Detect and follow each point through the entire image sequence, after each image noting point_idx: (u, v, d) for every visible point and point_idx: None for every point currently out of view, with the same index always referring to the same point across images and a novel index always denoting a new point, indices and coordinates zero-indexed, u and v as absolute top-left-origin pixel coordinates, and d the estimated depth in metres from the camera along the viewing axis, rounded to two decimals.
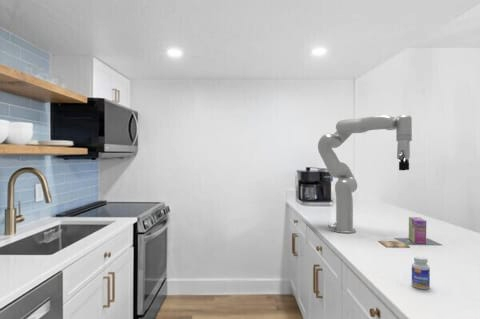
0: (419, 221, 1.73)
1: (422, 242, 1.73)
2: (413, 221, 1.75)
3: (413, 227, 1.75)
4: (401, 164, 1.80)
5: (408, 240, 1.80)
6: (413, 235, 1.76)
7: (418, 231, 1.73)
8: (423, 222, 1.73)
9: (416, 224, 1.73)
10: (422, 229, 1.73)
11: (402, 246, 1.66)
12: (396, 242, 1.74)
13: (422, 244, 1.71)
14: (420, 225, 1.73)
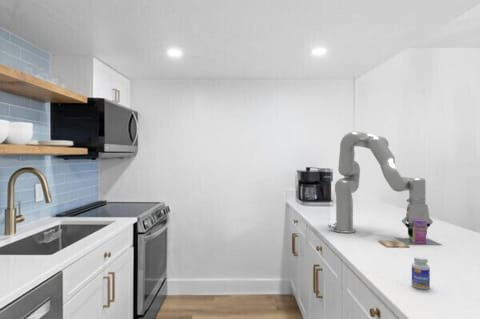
0: (419, 221, 1.73)
1: (422, 242, 1.73)
2: None
3: (413, 227, 1.75)
4: None
5: (408, 240, 1.80)
6: (413, 235, 1.76)
7: (418, 231, 1.73)
8: (423, 222, 1.73)
9: (416, 224, 1.73)
10: (422, 229, 1.73)
11: (402, 246, 1.66)
12: (396, 242, 1.74)
13: (422, 244, 1.71)
14: (420, 225, 1.73)
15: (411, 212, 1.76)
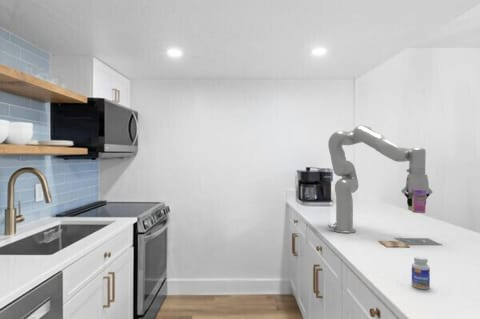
0: (419, 190, 1.73)
1: (421, 212, 1.73)
2: (413, 191, 1.75)
3: (412, 197, 1.75)
4: None
5: (408, 240, 1.80)
6: (412, 205, 1.76)
7: (417, 200, 1.73)
8: (423, 191, 1.73)
9: (415, 193, 1.73)
10: (422, 198, 1.73)
11: (402, 246, 1.66)
12: (396, 242, 1.74)
13: (422, 244, 1.71)
14: (419, 194, 1.73)
15: (410, 181, 1.76)
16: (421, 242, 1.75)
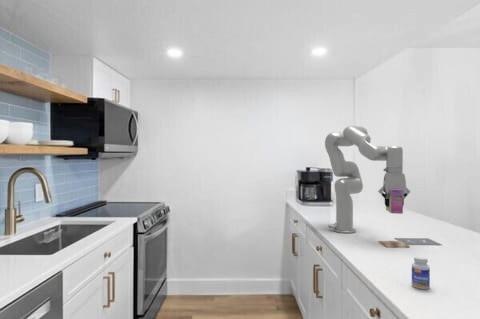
0: (396, 190, 1.67)
1: (398, 212, 1.67)
2: (390, 191, 1.69)
3: (390, 197, 1.69)
4: None
5: (408, 240, 1.80)
6: (389, 205, 1.69)
7: (395, 201, 1.67)
8: (400, 191, 1.66)
9: (393, 193, 1.67)
10: (399, 198, 1.67)
11: (402, 246, 1.66)
12: (396, 242, 1.74)
13: (422, 244, 1.71)
14: (397, 194, 1.67)
15: (387, 181, 1.69)
16: (421, 242, 1.75)
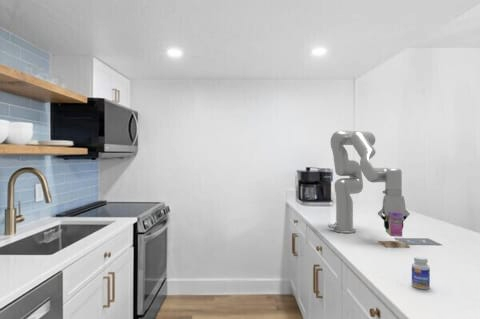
0: (395, 213, 1.66)
1: (398, 235, 1.66)
2: (389, 213, 1.69)
3: (389, 219, 1.69)
4: None
5: (408, 240, 1.80)
6: (389, 228, 1.69)
7: (394, 223, 1.66)
8: (399, 214, 1.66)
9: (392, 216, 1.67)
10: (398, 221, 1.66)
11: (402, 246, 1.66)
12: (396, 242, 1.74)
13: (422, 244, 1.71)
14: (396, 217, 1.66)
15: (386, 203, 1.69)
16: (421, 242, 1.75)
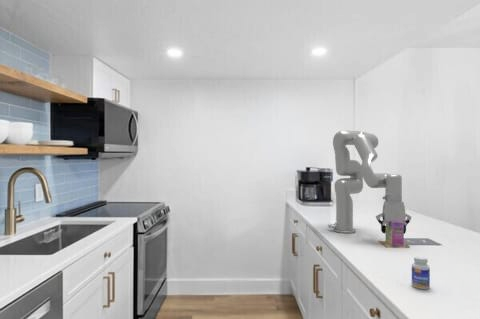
0: (396, 223, 1.67)
1: (399, 245, 1.66)
2: (390, 223, 1.69)
3: (390, 229, 1.69)
4: None
5: (408, 240, 1.80)
6: (390, 237, 1.69)
7: (395, 233, 1.67)
8: (400, 224, 1.66)
9: (393, 226, 1.67)
10: (400, 231, 1.66)
11: (402, 246, 1.66)
12: None
13: (422, 244, 1.71)
14: (397, 227, 1.66)
15: (386, 209, 1.69)
16: (421, 242, 1.75)
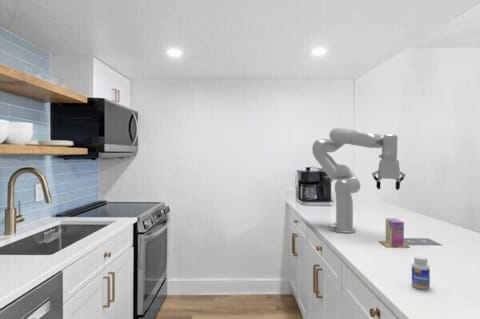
0: (396, 223, 1.67)
1: (399, 245, 1.66)
2: (390, 223, 1.69)
3: (390, 229, 1.69)
4: None
5: (408, 240, 1.80)
6: (390, 237, 1.69)
7: (395, 233, 1.67)
8: (400, 224, 1.66)
9: (393, 226, 1.67)
10: (400, 231, 1.66)
11: (402, 246, 1.66)
12: None
13: (422, 244, 1.71)
14: (397, 227, 1.66)
15: (382, 167, 1.81)
16: (421, 242, 1.75)
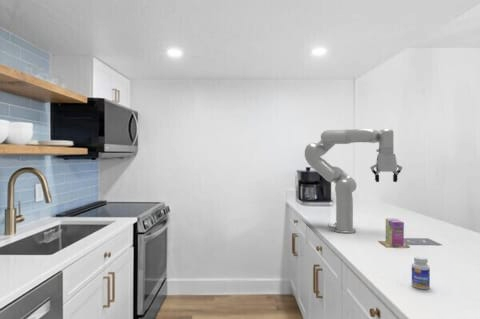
0: (396, 223, 1.67)
1: (399, 245, 1.66)
2: (390, 223, 1.69)
3: (390, 229, 1.69)
4: None
5: (408, 240, 1.80)
6: (390, 237, 1.69)
7: (395, 233, 1.67)
8: (400, 224, 1.66)
9: (393, 226, 1.67)
10: (400, 231, 1.66)
11: (402, 246, 1.66)
12: None
13: (422, 244, 1.71)
14: (397, 227, 1.66)
15: (380, 160, 1.89)
16: (421, 242, 1.75)
